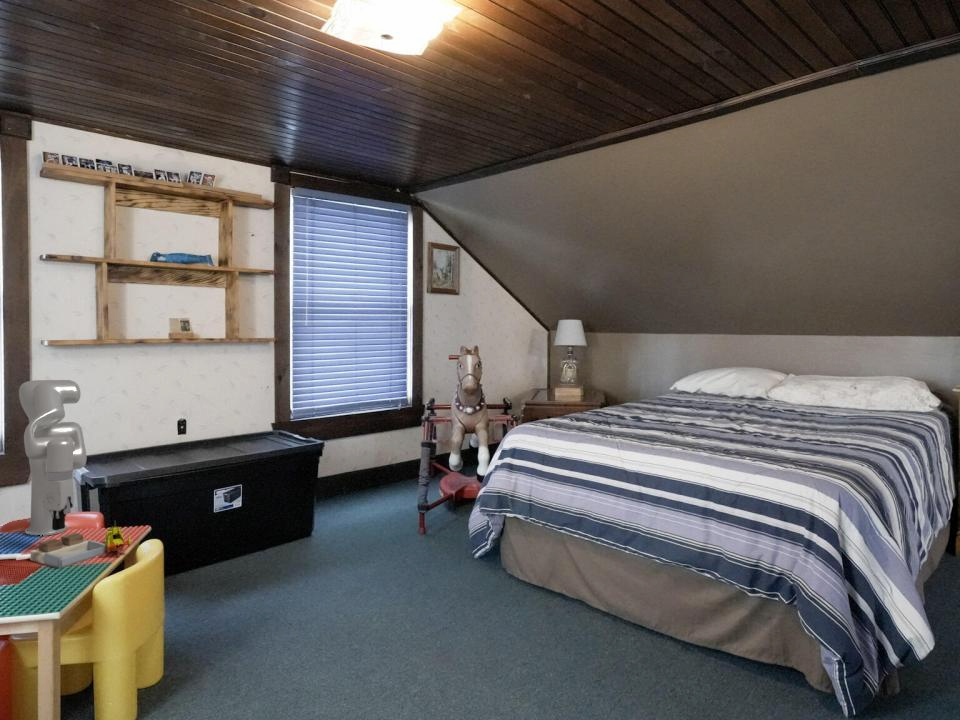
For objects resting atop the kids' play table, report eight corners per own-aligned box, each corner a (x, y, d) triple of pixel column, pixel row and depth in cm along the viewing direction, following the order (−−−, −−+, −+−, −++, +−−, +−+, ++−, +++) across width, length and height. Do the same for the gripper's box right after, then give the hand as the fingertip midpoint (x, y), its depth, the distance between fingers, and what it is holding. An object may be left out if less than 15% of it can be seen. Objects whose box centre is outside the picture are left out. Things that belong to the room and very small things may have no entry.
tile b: (38, 550, 198) (39, 542, 198) (53, 546, 202) (53, 538, 202) (47, 552, 196) (47, 544, 196) (61, 548, 200) (62, 540, 200)
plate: (30, 560, 197) (30, 550, 197) (76, 546, 211) (76, 537, 211) (44, 564, 194) (44, 554, 194) (90, 550, 208) (90, 541, 208)
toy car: (108, 559, 201) (109, 530, 200) (100, 544, 215) (100, 516, 214) (130, 556, 205) (131, 526, 205) (120, 540, 219) (121, 513, 218)
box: (44, 564, 194) (44, 553, 194) (90, 550, 208) (90, 540, 208) (59, 568, 191) (59, 557, 191) (104, 554, 205) (105, 543, 205)
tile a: (60, 543, 204) (61, 536, 204) (74, 540, 209) (74, 532, 208) (69, 546, 203) (69, 538, 203) (82, 542, 207) (83, 535, 207)
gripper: (34, 475, 207) (33, 528, 207) (62, 479, 201) (61, 534, 201) (56, 471, 214) (55, 523, 214) (84, 476, 208) (83, 529, 208)
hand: (58, 528), depth 208 cm, fingers closed
